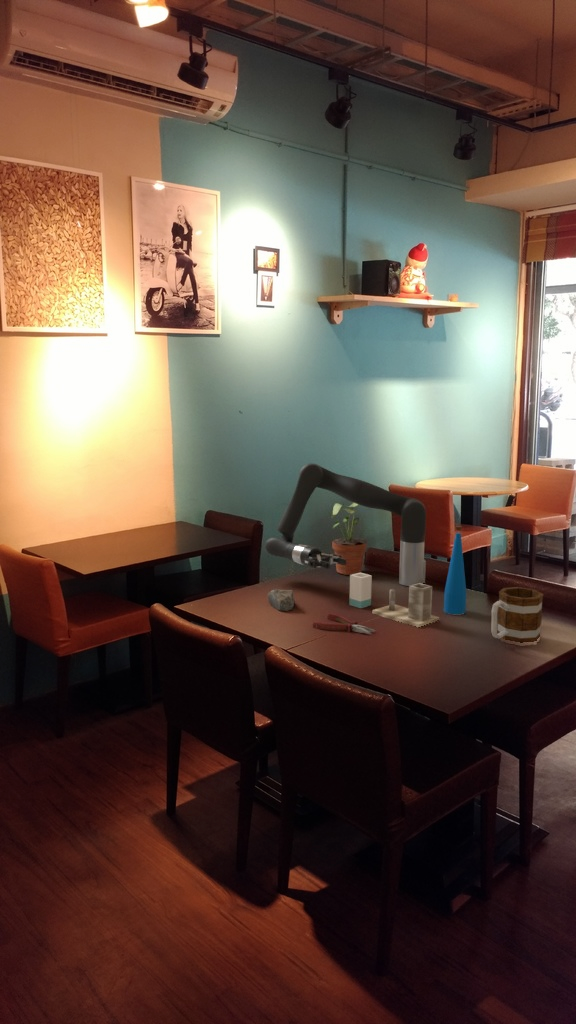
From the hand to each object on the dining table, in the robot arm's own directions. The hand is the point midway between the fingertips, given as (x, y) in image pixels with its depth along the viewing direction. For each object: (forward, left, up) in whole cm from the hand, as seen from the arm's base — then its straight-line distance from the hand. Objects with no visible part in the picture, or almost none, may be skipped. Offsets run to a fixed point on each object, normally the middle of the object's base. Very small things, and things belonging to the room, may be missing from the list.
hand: (337, 564), depth 285 cm
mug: (-31, +61, -13) cm, 69 cm away
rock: (+22, +1, -13) cm, 25 cm away
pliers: (+14, +31, -14) cm, 37 cm away
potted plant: (-20, -31, -13) cm, 39 cm away
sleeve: (-4, +11, -13) cm, 17 cm away
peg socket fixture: (-12, +28, -13) cm, 33 cm away
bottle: (-31, +30, -13) cm, 45 cm away
